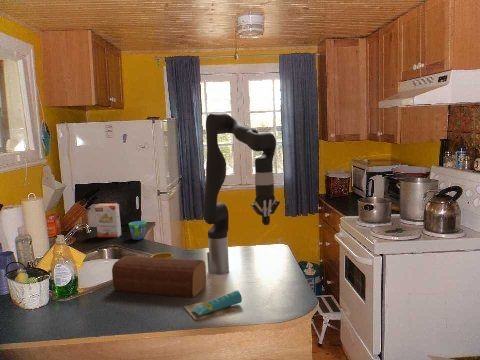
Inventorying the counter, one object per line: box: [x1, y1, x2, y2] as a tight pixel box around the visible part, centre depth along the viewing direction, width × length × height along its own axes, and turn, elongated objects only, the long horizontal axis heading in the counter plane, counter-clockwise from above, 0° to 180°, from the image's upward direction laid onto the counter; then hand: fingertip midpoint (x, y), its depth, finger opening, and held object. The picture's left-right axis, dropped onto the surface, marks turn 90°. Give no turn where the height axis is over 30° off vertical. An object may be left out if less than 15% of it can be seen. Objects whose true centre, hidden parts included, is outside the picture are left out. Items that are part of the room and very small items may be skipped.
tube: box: [191, 290, 243, 315], centre depth 174 cm, size 7×5×19 cm
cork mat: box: [183, 298, 235, 321], centre depth 175 cm, size 16×13×1 cm
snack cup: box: [128, 220, 147, 241], centre depth 283 cm, size 16×10×10 cm
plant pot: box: [150, 252, 174, 259], centre depth 215 cm, size 10×10×10 cm
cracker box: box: [94, 203, 122, 238], centre depth 291 cm, size 14×6×21 cm, turn 81°
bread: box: [111, 255, 207, 298], centre depth 198 cm, size 16×39×13 cm, turn 72°
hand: (266, 224), depth 185 cm, fingers closed
